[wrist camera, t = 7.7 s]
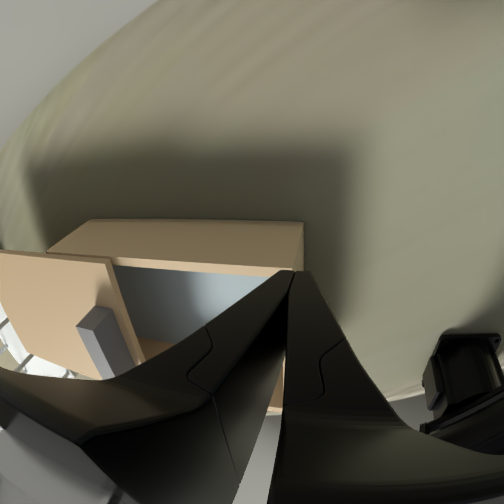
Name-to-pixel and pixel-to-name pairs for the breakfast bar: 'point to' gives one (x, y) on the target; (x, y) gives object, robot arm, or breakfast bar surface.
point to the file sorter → (27, 354)
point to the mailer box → (187, 270)
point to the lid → (69, 312)
